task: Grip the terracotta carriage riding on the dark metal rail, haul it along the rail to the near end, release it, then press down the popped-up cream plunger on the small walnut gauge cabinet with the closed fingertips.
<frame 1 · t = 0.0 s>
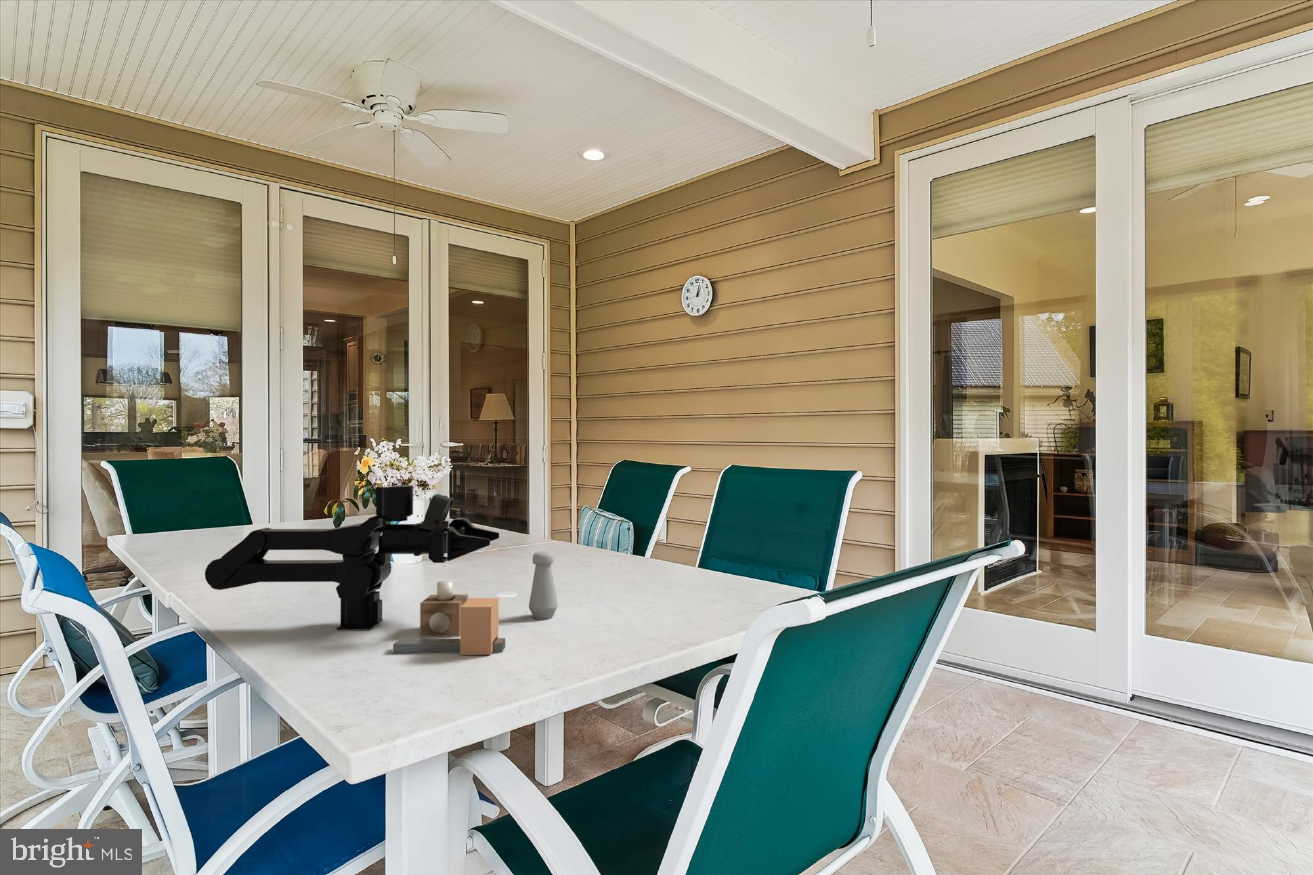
hand: (494, 538, 134), 17 cm above the table, tool horizontal, fingers open, 9 cm apart
plunger: (445, 590, 129), point 8 cm above the table, slide at 0.0 cm
salt shaker: (543, 617, 140), on the table
rail: (450, 649, 117), on the table
gauge cabinet: (444, 630, 129), on the table
carriage: (480, 625, 118), point 4 cm above the table, slide at 5.0 cm
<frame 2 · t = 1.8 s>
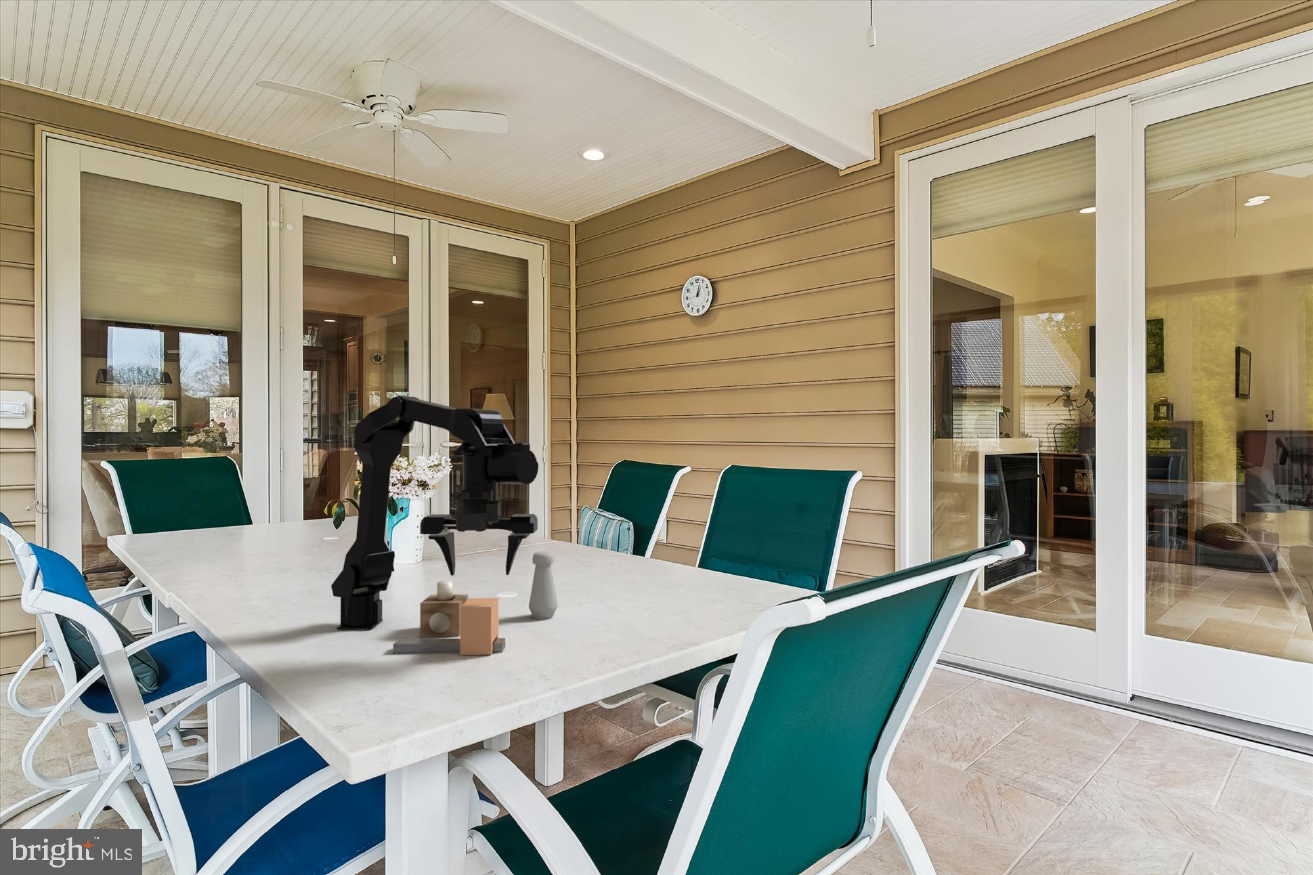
hand: (480, 574, 118), 13 cm above the table, tool pointing down, fingers open, 9 cm apart
nothing on the table moved.
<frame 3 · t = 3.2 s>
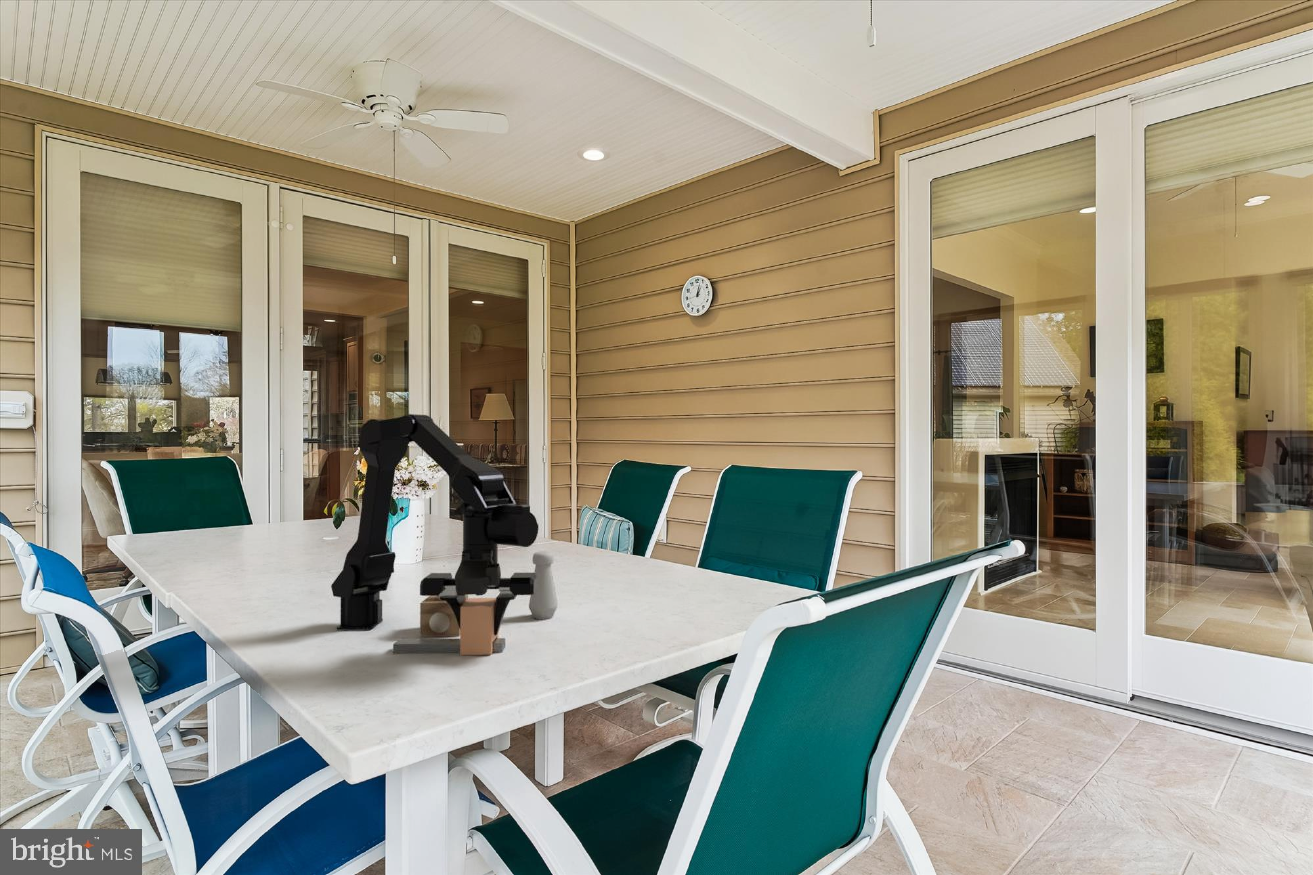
hand: (480, 634, 118), 3 cm above the table, tool pointing down, fingers closed on carriage, 5 cm apart
carriage: (480, 625, 118), point 4 cm above the table, slide at 5.0 cm, touching gripper
everything else where it was.
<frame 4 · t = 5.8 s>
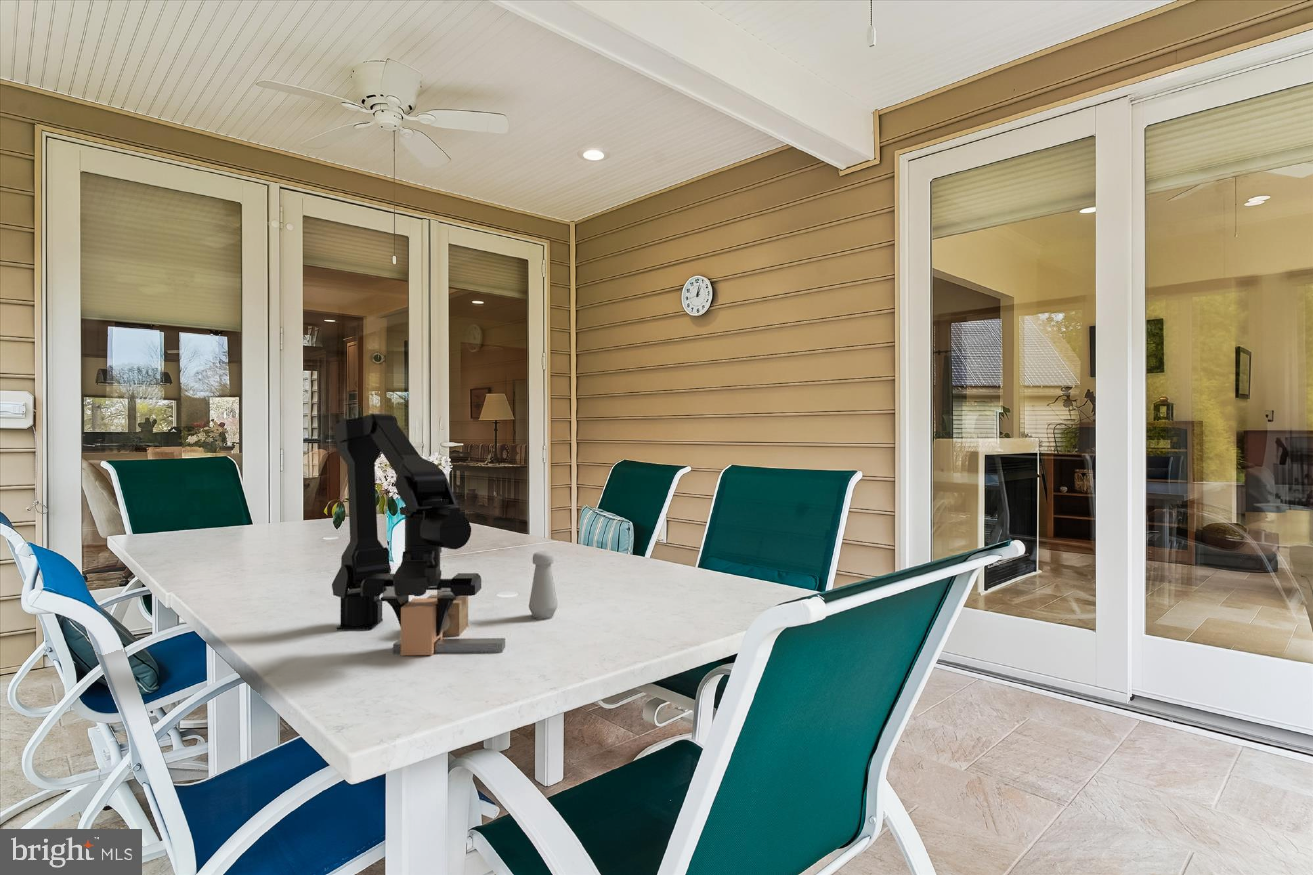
hand: (422, 635, 117), 2 cm above the table, tool pointing down, fingers closed on carriage, 5 cm apart
carriage: (422, 625, 117), point 4 cm above the table, slide at -4.7 cm, touching gripper
everything else where it was.
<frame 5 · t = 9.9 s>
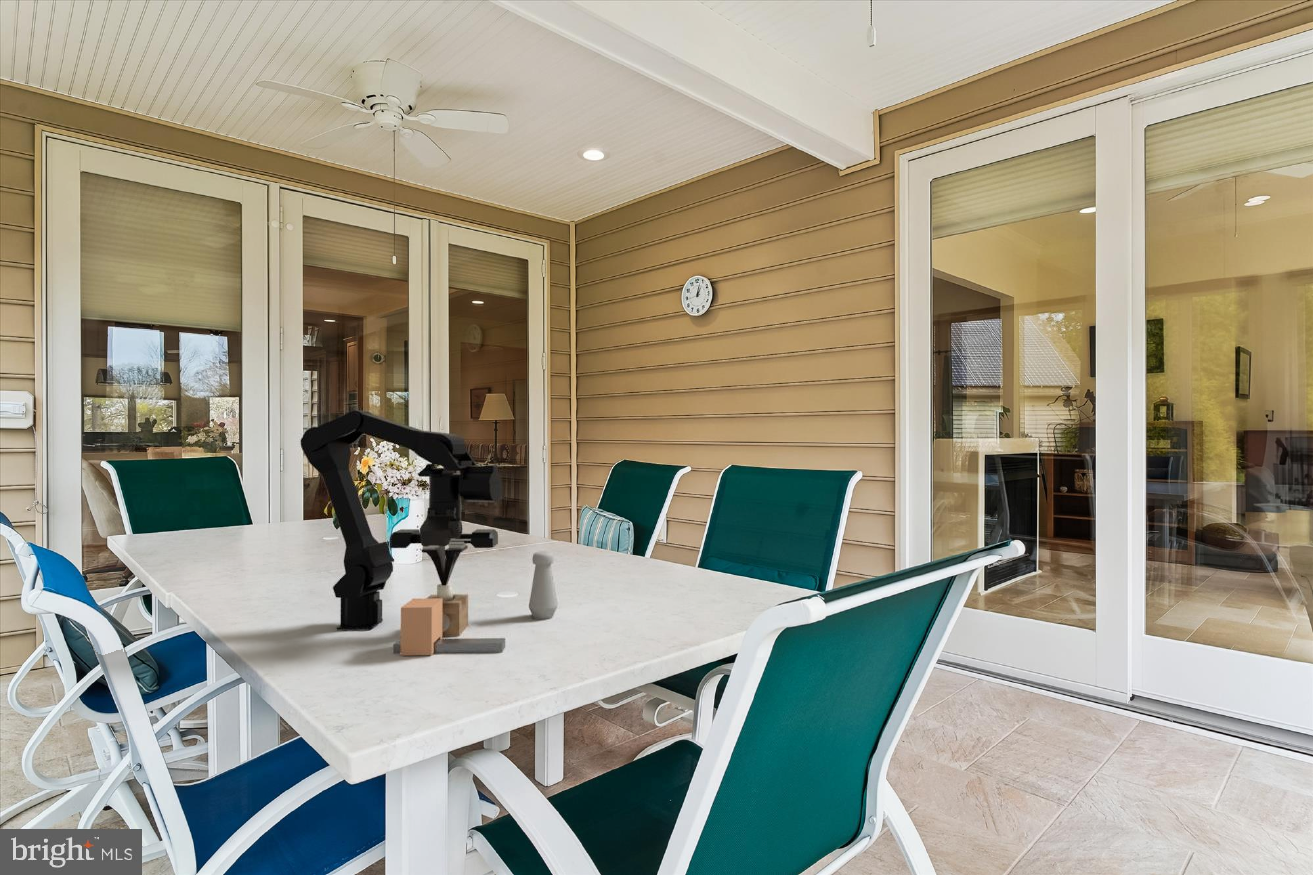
hand: (444, 584, 129), 9 cm above the table, tool pointing down, fingers closed, pressing on plunger
plunger: (445, 592, 129), point 7 cm above the table, slide at 0.5 cm, touching gripper
carriage: (422, 625, 117), point 4 cm above the table, slide at -4.7 cm
everything else where it was.
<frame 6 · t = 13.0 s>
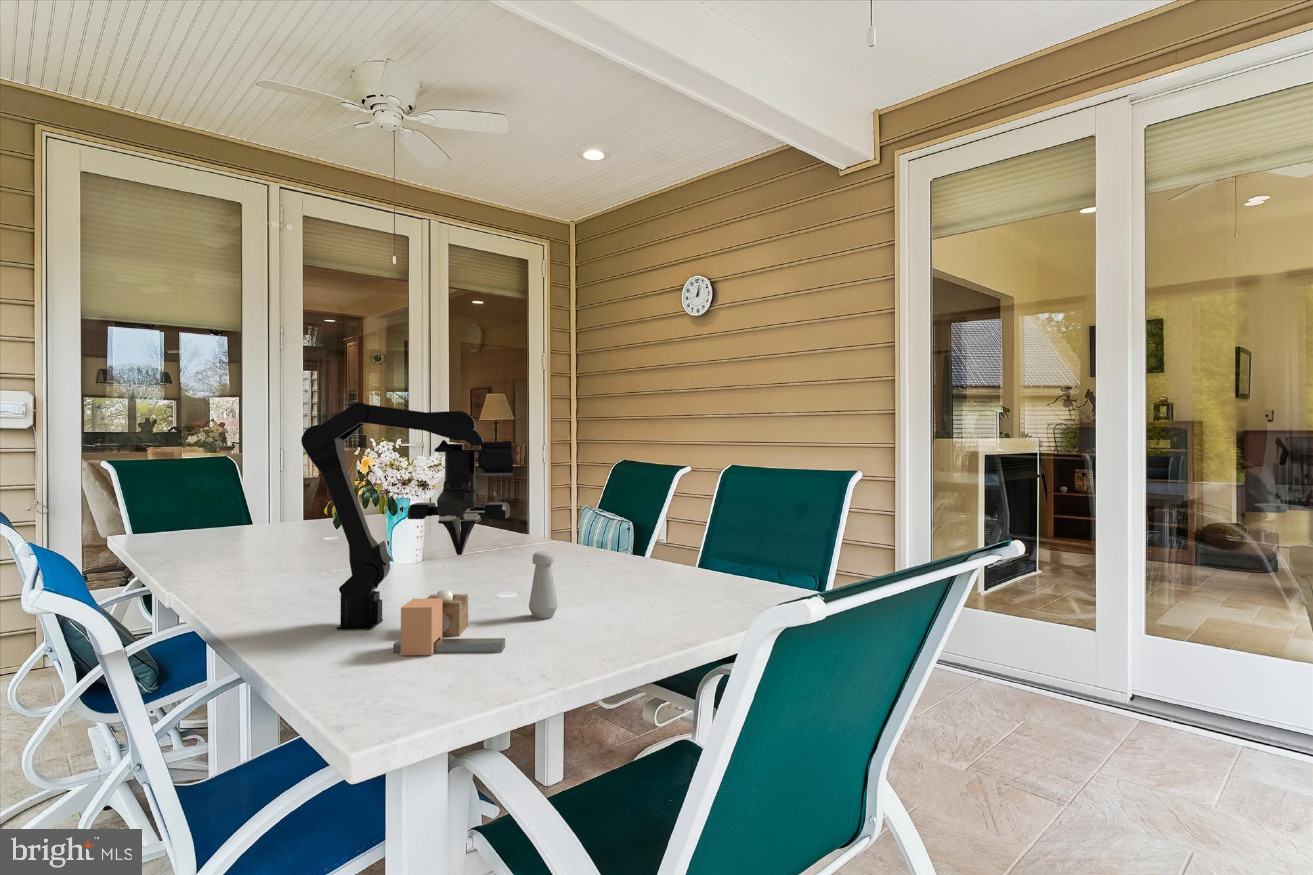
hand: (459, 554, 136), 13 cm above the table, tool pointing down, fingers closed
plunger: (444, 599, 129), point 6 cm above the table, slide at 1.7 cm
everything else where it was.
at the end: carriage slide at -4.7 cm; plunger slide at 1.7 cm; the gripper is holding nothing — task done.
